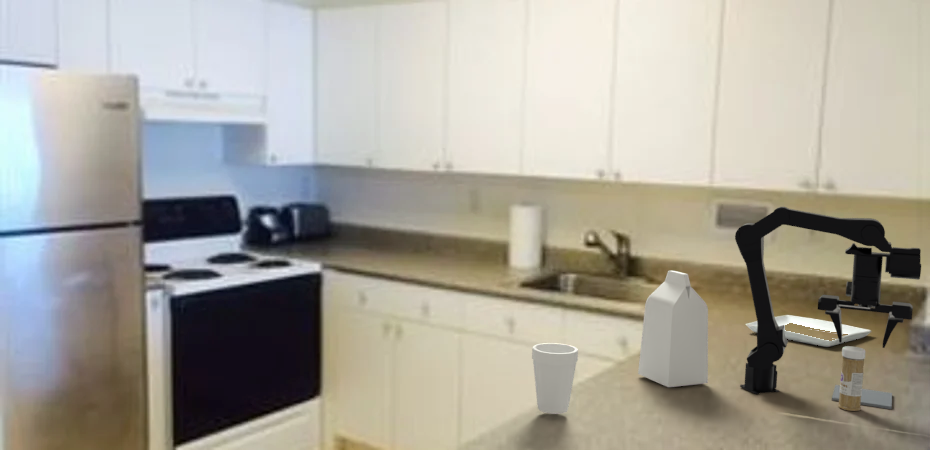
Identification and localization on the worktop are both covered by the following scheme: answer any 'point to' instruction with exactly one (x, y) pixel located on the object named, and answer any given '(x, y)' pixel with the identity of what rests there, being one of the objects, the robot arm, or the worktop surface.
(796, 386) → the worktop surface
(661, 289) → the milk
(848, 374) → the sprinkles bottle
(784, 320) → the square plate
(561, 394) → the foam cup
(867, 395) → the rest mat
